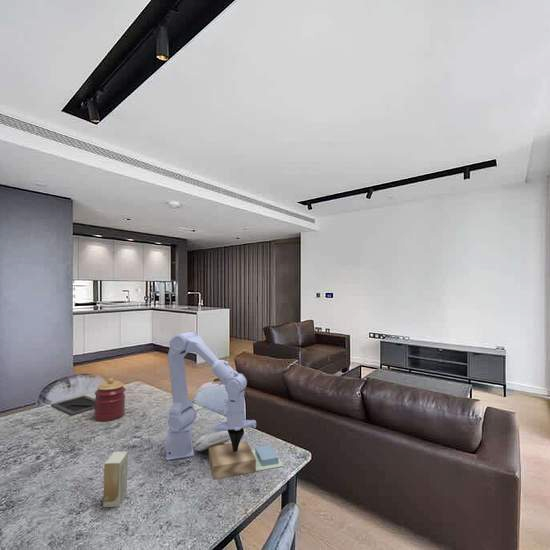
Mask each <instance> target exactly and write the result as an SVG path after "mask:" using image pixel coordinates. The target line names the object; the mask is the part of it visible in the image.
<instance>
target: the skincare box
mask: <svg viewBox="0 0 550 550" xmlns="http://www.w3.org/2000/svg"><path fill="white" fill-rule="evenodd" d="M128 458H129V451H113V452H112V453H111V454H110V456H109V457H107V459H106V461H105V462H104V467H103V468H104V469H103V471H104V472H103V473H104V474H103V501H102V502H103V503H102V505H103V506H102V507H103V508H119V507H120V505H121V503H122V502H123V500H124V498H125V497H126V496H127V495H126V494H127V493H128V467H129V465H128V464H129V462H128V461H129V459H128Z"/></svg>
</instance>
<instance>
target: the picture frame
mask: <svg viewBox="0 0 550 550" xmlns="http://www.w3.org/2000/svg"><path fill="white" fill-rule="evenodd" d="M94 400H95V398H93V397H91V396H87V395H81V396H77V397H73V398H70V399H66V400H65V399H64V400H63V401H62V400H61V401H58V402H55V403H51V404H50V407H51V408H53V409H56V410H58V411H60V412H62V413H64V414H67V415H68V416H71V417H73V416H76V415H80V414H83V413H85V412H89V411H92V410H94V409H95V401H94Z"/></svg>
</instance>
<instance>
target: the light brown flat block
mask: <svg viewBox="0 0 550 550" xmlns="http://www.w3.org/2000/svg"><path fill="white" fill-rule="evenodd" d="M251 450H252V448H251V446H250V445H249V443H248V441H247V440H246V441H240V443H239V446H238V451H237V452H233V449H232V443H230V442H229V443H223V444H221V445H217V446H210V447H209V449H208V461H209V465H210V466H209V467H210V470H211V476H212V478H213V480H218V479H223V478H227V477H234V476H238V475H244V474H250V473H255V472H257V471H256V459H255V457H254V455H253V453H252V451H251Z"/></svg>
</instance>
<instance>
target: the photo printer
mask: <svg viewBox="0 0 550 550" xmlns="http://www.w3.org/2000/svg"><path fill="white" fill-rule="evenodd" d="M229 441H231V439H230V436H229V433H228V431H219V432H218V433H215V432H214V431H213V432H210V433H207V434H204V435H203V436H201V437H199V438H198V439H197V440H196V441H195V443H194V446H195V450H196V451H198V452H203V451H206V450H209V447H210V446H217V445H224V444H227V442H229Z"/></svg>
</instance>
